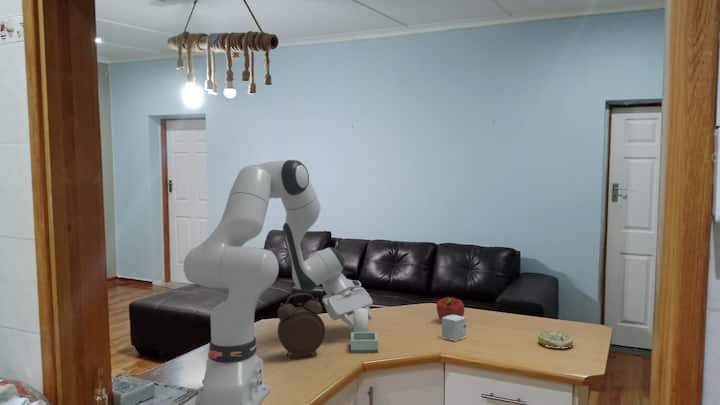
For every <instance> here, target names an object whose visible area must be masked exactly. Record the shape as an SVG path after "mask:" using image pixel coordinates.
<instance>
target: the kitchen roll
mask: <svg viewBox="0 0 720 405" xmlns="http://www.w3.org/2000/svg"><path fill="white" fill-rule="evenodd" d="M352 315H353V317H352V318H353V321H354V322H355V325H354V327H353V332H369V321H368V309H366V308H358V309H355V310H353V314H352Z"/></svg>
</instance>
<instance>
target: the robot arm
mask: <svg viewBox="0 0 720 405" xmlns="http://www.w3.org/2000/svg"><path fill="white" fill-rule="evenodd" d="M270 199H280V201H281V202H282V204H283V207H284V209H285V222H284V224H283V225H282V234H283V239H284V242H285V246H286V250H287V251H286V252H287V254H288V258H289V264H290V268H291V269H290V270H291V274H292V280H293V282H294V284H295V286H296V287H297V289H299V290H300V291H301V292H302V291H303V292H312V291H313V290H315V289H316V288H318V287H319V286H320V285H322V287H323V289H324V292H325V293H326V294H324V295H323V296H322V298H321V302H322V304H324V305H323V306H324V308H325V311H326V312H327V314H328V316H329V317H330V319H331V320H333V321H337V320H341V321H342V322H343V323H345V324H347V326H348V327H349V328H354V325H355V322H354V319H350V317H349V316H351V315H353V310H355V309H358V308H366V309H368V322H369V321H371V320H372V319H373V316H372V314H371V312H370V311H371V310H370V307H372V305H373V304H374V302H373V298H372V297H371V296H370V294H369V293H368V292H367V290H366V289H365V288H364V287H362V283H361V282H360V281H359V280H353V279H349V278H347V277H346V276H345V275H344V274H343V273H342V271H343V270H344V267H345V264H346V260H345V258H344V257H343V255H342V254H341V253H340V251H339V250H338V248H336V247H335V248H334V247H330V246H329V247H327V248H324V249H320V250H317V251H315V252H314V253H312V254H311V256H310V257H309V258H307V259H305V260H304V257H303V252H302V248H301V242H302V239H303V237H304V236H305V235H306V233H307V232H308V231H309V230H310V229H311V227H313V225H314V224H315V223H316V222H317V220H318V218H319V217H320V213H321V205H320V201H319V198H318V196H317V193H316V191H315V188H314V187H313V184H312V183H311V181H310V175H309V170H308V168H307V167H306V166H305V164H303V163H302V162H301V161H300V160H296V159H295V160H294V159H287V160H279V161H268V162H263V163H259V164H257V165H256V164H253V165H247V166H244V167H243V168H242V169H240V170H239V171H238V174H237V175H236V177H235V180H234V182H233V184H232V186H231V189H230V191H229V196H228V198H227V200H226V204H225V209H224V211H223V213H222V216H221V219H220V221H219V223H218V225H217V226H216V228H215V229H214V230H213V232H211V234H210V235H209V236H208V237H207V238H206V239H205V240H204V241H203V242H201V243H200V244H199V245H197V246H195V247H193V248H191V249H190V250H189V251H188V253H187V254H186V255H185V257H184V261H183V273H184V276H185V278H186V279H187V281H188V282H189V283H192V284H194V285H197V286H201V287H206V288H220V289H228V297H227V299H226V300H224V301H222V302H221V303H219V304H217V305H216V306H215V307H214V308H213V309H212V312H211V314H210V337H211V338H210V339H211V340H210V341H209V347H208V353H207V354H208V355H207V356H208V359H206V366H205V372H204V378H203V379H202V382H201V383H202V386H201V387H199V388H198V391H197V396H196V399H195V403H194V405H260V404H261V402H262V401H263V400H264V399H265V398H266V397H267V395H268V394H269V392H270V391H271V387H270V385H267V384H266V383H265V382H264V381H265V380H264V369H263V368H264V367H263V360H262V358H260V356H259V355H258V354H257V346H258V345H257V338H256V336H255V313H256V308H257V304H258V301H259V299H260V297H261V296H262V294H263V293H264V292H265V291H266V290H267V289H268V288H270V287H271V286H272V285H273V284H274V283H275V281H276V280H277V278H278V275H279V270H280V269H279V268H280V267H279V261H278V258H277V256H276V255H275V254H274V252H273V251H272V250H268V249H265V248H261V247H257V246H243V245H245V244H246V243H247V242H249V241H251V240H253V239H255V238H256V237H258V236H259V235H260V233H261V232H262V230H263V228H264V224H265V218H266V215H267V211H268V207H269V204H270V203H269V202H270Z"/></svg>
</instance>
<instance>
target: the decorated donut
mask: <svg viewBox="0 0 720 405" xmlns="http://www.w3.org/2000/svg"><path fill="white" fill-rule="evenodd" d="M537 339H538V342H539V343H540V342H541V343H542V344H544V345H548V346H553V347H560V348H562V347H569V346H571V345H572V344H574V343H573V341H574V339H573V337H572V336H570V335H569V334H568V333H564V332H560V331H557V330H545V331H542V332H539V334H538V335H537ZM541 343H540V344H541ZM572 346H573V345H572Z"/></svg>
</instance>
